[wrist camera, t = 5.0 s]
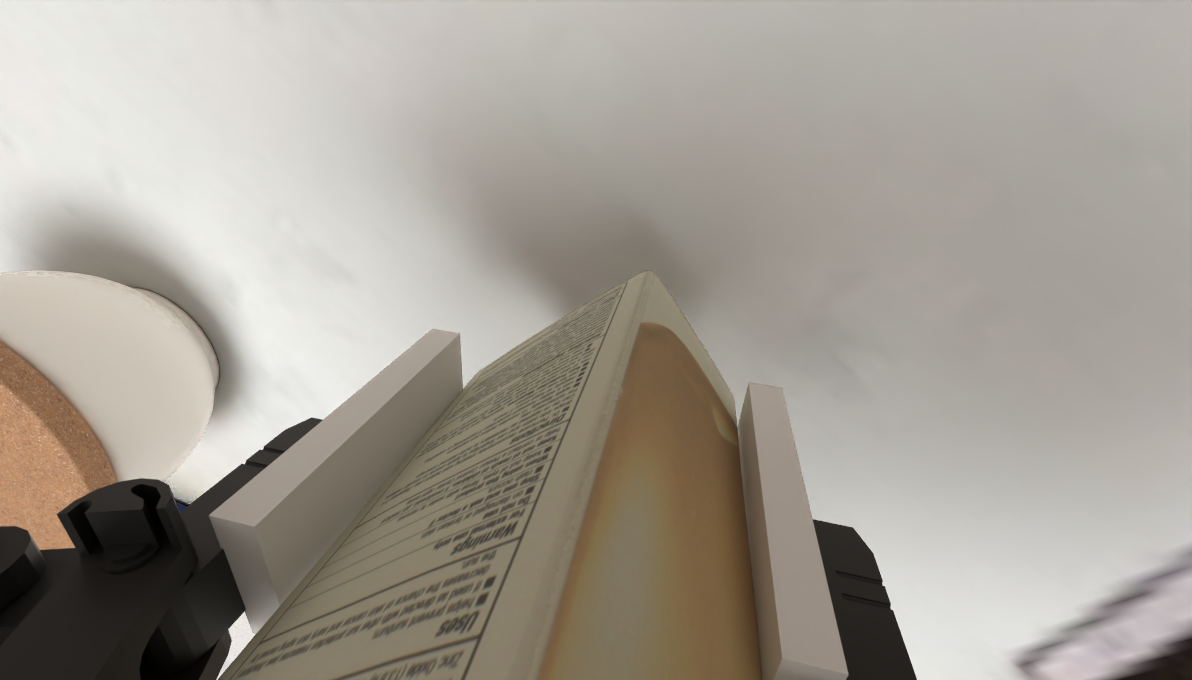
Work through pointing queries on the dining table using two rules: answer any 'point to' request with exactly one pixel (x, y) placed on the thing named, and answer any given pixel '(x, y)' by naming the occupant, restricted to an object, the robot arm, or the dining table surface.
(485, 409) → the skincare box
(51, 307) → the lidded jar
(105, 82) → the dining table surface
